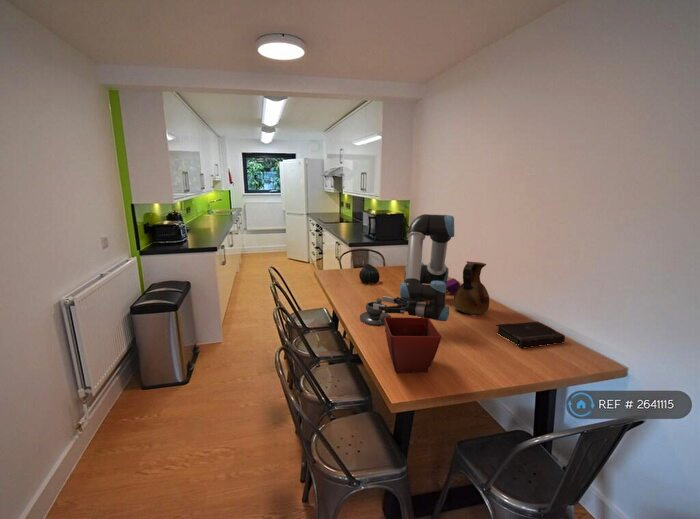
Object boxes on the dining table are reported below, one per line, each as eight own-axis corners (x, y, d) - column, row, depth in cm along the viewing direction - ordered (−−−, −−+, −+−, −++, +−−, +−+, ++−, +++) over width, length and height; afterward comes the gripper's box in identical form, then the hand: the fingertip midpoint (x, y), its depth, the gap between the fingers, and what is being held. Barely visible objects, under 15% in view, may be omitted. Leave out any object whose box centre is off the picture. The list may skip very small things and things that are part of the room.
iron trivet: (379, 311, 197) (379, 309, 197) (397, 322, 183) (397, 319, 182) (353, 316, 189) (354, 314, 188) (371, 328, 174) (371, 325, 174)
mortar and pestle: (362, 314, 188) (363, 293, 186) (378, 312, 192) (379, 292, 189) (371, 322, 178) (372, 300, 176) (387, 320, 182) (388, 298, 179)
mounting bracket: (438, 303, 231) (463, 292, 230) (434, 293, 229) (458, 281, 228) (434, 299, 240) (457, 288, 240) (429, 288, 238) (453, 278, 238)
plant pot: (426, 353, 149) (428, 317, 146) (438, 377, 131) (442, 336, 127) (382, 353, 149) (384, 316, 145) (388, 377, 130) (390, 336, 126)
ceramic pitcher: (493, 312, 201) (499, 262, 194) (479, 321, 186) (485, 268, 180) (461, 303, 214) (466, 256, 207) (446, 311, 199) (450, 261, 193)
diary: (564, 345, 162) (566, 335, 161) (520, 350, 155) (522, 340, 154) (533, 328, 179) (535, 319, 178) (493, 333, 173) (494, 323, 171)
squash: (380, 279, 244) (379, 261, 251) (359, 280, 244) (359, 261, 252) (379, 288, 256) (378, 270, 264) (359, 288, 257) (359, 270, 264)
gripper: (410, 324, 164) (369, 316, 173) (422, 308, 186) (385, 302, 195) (410, 309, 162) (369, 302, 171) (423, 295, 184) (386, 289, 193)
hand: (378, 302), depth 183 cm, fingers open, 13 cm apart
